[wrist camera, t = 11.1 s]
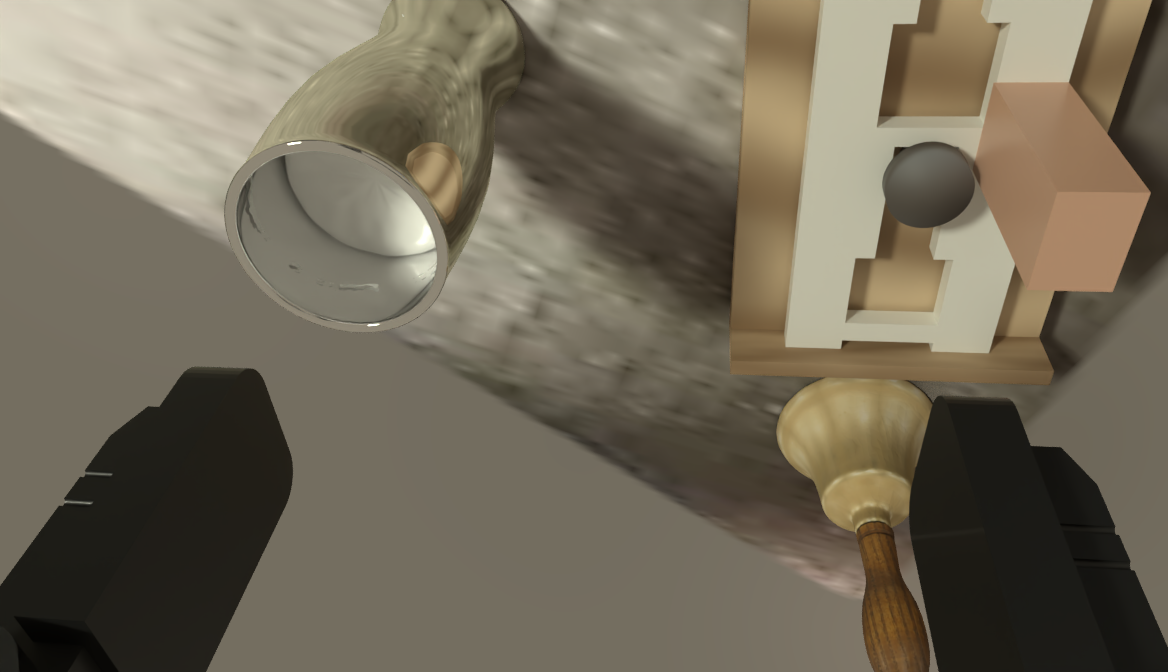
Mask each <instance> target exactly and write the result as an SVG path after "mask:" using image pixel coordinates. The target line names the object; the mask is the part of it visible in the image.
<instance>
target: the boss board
mask: <svg viewBox="0 0 1168 672" xmlns="http://www.w3.org/2000/svg"><path fill="white" fill-rule="evenodd" d="M820 1H821V0H749V5H748V22H747V38H746V55H745V71H744V88H743V105H742V121H741V138H740V155H739V171H738V188H737V205H736V221H735V238H734V255H733V271H732V288H731V305H730V321H729V327H730V374H743V375H772V376H800V377H829V378H858V379H887V380H916V381H945V382H974V383H1003V384H1032V385H1050V382H1051V379H1052V376H1053V373H1054V370H1053V368H1052V365H1051V363H1050V361H1049V359H1048V356H1047V354H1046V352H1045V350H1044V347H1043V345H1042V343H1041V341H1040V338H1039V336H1040V333H1041V330H1042V327H1043V324H1044V321H1045V318H1046V315H1047V312H1048V309H1049V306H1050V303H1051V300H1052V297H1053V294H1054V291H1047V290H1027V289H1026V287H1025V285H1024V282H1023V280H1022V278H1021V276H1020V274H1019V271H1018V269H1017V267H1016V265H1015V266H1014V269H1013V273H1012V276H1011V280H1010V283H1009V286H1008V290H1007V293H1006V297H1005V300H1004V303H1003V307H1002V310H1001V314H1000V317H999V320H998V324H997V327H996V330H995V334H994V337H993V341H992V344H991V347H990V351H989V353H961V352H931V349H930V346H929V343H915V342H881V341H847V340H842V345H841V349H831V348H798V347H785V337H784V331H785V322H786V313H787V304H788V295H789V285H790V276H791V267H792V258H793V249H794V240H795V230H796V221H797V212H798V203H799V194H800V185H801V175H802V166H803V157H804V148H805V139H806V130H807V120H808V111H809V102H810V93H811V84H812V75H813V65H814V56H815V47H816V38H817V29H818V20H819V11H820ZM983 1H984V0H921V1H920V7H919V13H918V18H917V24H893V29H892V35H891V41H890V47H889V54H888V60H887V66H886V72H885V78H884V85H883V91H882V97H881V103H880V109H879V116H980V112H981V108H982V104H983V100H984V95H985V91H986V87H987V83H988V79H989V74H990V70H991V66H992V62H993V57H994V53H995V49H996V45H997V40H998V36H999V32H1000V28H1001V24H1002V23H987V22H986V20H985V19H984V17H983V16H982V14H981V10H982V5H983ZM1151 2H1152V0H1093V2H1092V5H1091V8H1090V12H1089V15H1088V19H1087V22H1086V25H1085V29H1084V32H1083V36H1082V39H1081V42H1080V46H1079V49H1078V52H1077V56H1076V59H1075V63H1074V66H1073V69H1072V73H1071V76H1070V80H1069V83H1070V85H1071V86H1072V87H1073V89H1074V90H1075V91H1076V93H1077V94H1078V95H1079V97H1080V98H1081V99H1082V101H1083V102H1084V103H1085V105H1086V106H1087V107H1088V109H1089V110H1090V111H1091V113H1092V114H1093V116H1094V117H1095V118H1096V120H1097V121H1098V122H1099V124H1100V125H1101V126H1102V128H1103V129H1104V130H1105V132H1106V133H1108V130H1109V127H1110V124H1111V121H1112V118H1113V115H1114V112H1115V109H1116V106H1117V103H1118V100H1119V97H1120V94H1121V91H1122V88H1123V85H1124V82H1125V80H1126V77H1127V74H1128V71H1129V68H1130V65H1131V62H1132V59H1133V56H1134V53H1135V50H1136V47H1137V44H1138V41H1139V38H1140V35H1141V32H1142V29H1143V26H1144V23H1145V20H1146V17H1147V14H1148V11H1149V8H1150V5H1151ZM882 188H883V193H884V196H885V204H884V210H883V216H882V221H881V227H880V233H879V238H878V244H877V249H876V255H875V258H855V264H854V271H853V277H852V283H851V289H850V295H849V302H848V308H847V310H874V311H913V312H933V311H934V307H935V303H936V299H937V294H938V290H939V286H940V282H941V277H942V273H943V269H944V265H945V260H934V259H933V256H932V253H931V250H930V247H929V246H930V241H931V237H932V232H933V228H934V227H936V226H940V225H943V224H945V223H947V222H949V221H951V220H953V219H954V218H956V217H957V216H958V215H960V214H961V213H962V212H963V211H964V210H965V209H966V207H967V206H968V205H969V203H970V201H971V199H972V197H973V194H974V190H975V180H974V176H973V173H972V171H971V169H970V167H969V164H968V162H967V160H966V158H965V156H964V155H963V154H962V153H961V152H960V151H959V150H958V149H957V148H955V147H954V146H951V145H949V144H946V143H943V142H934V141H932V142H923V143H918V144H915V145H913V146H910V147H895V148H894V154H893V159H892V160H891V162H890V163H889V164H888V166H887V168H886V170H885V172H884V175H883V180H882Z"/></svg>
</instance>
